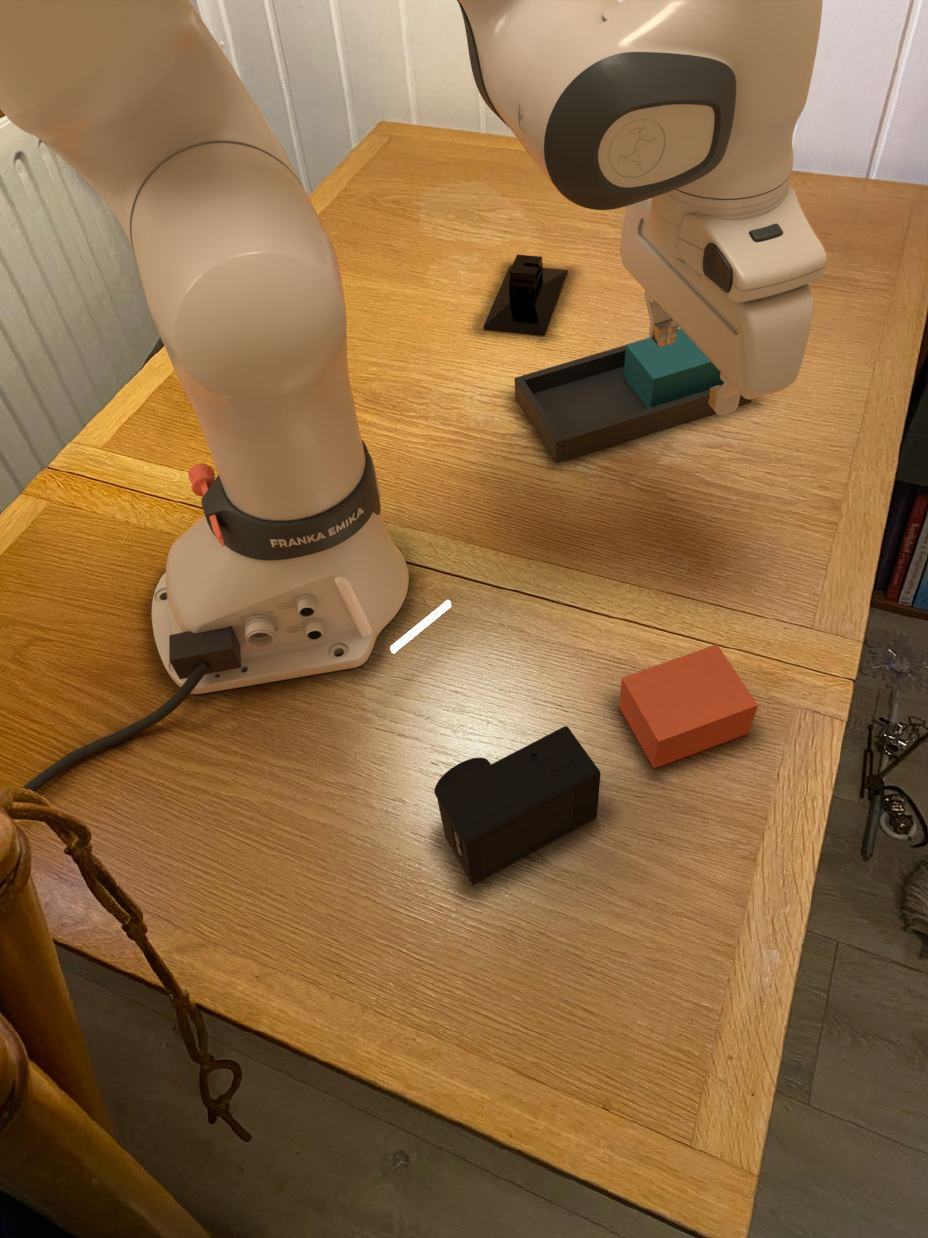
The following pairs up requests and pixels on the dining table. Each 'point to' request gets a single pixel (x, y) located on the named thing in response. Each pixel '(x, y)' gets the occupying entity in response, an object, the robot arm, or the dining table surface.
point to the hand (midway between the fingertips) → (691, 373)
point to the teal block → (668, 370)
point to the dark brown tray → (596, 405)
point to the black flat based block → (526, 298)
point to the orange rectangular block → (686, 705)
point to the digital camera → (516, 802)
